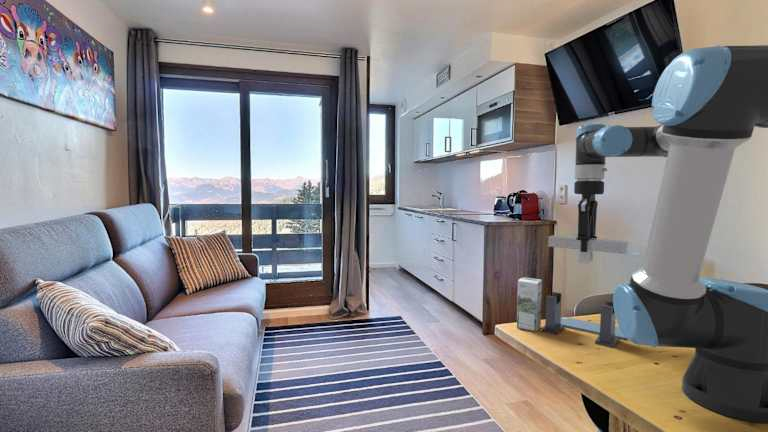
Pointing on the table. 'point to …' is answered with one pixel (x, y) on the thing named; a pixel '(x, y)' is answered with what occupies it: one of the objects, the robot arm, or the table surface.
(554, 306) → the post far
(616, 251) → the rail
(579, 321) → the mat
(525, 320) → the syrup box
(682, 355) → the table surface
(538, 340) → the table surface
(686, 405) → the table surface
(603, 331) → the post near
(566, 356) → the table surface
